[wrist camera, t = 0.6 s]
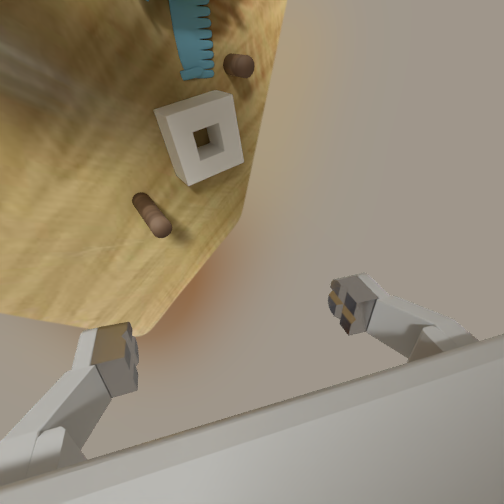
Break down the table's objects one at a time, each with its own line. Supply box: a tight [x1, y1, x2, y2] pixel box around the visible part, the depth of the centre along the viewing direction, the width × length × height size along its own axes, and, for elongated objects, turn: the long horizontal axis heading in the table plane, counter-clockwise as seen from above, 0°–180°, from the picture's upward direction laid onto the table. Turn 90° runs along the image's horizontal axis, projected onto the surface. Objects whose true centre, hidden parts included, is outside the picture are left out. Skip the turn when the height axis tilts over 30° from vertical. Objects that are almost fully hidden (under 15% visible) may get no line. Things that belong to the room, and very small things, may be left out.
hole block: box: [153, 90, 244, 186], centre depth 52 cm, size 12×12×6 cm
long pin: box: [132, 193, 172, 238], centre depth 51 cm, size 3×3×12 cm
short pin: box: [223, 54, 254, 78], centre depth 49 cm, size 3×3×5 cm
